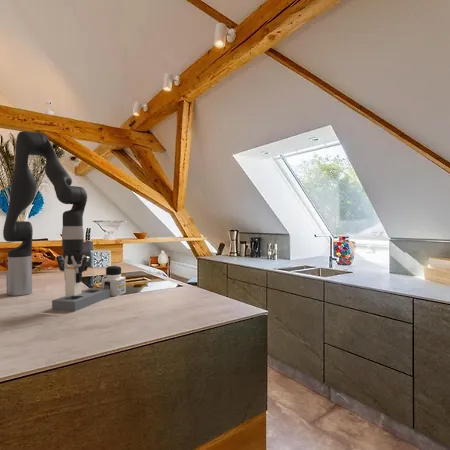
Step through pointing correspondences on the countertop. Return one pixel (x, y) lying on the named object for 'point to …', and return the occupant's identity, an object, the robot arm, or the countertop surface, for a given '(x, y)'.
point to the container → (114, 281)
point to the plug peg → (71, 282)
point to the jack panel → (80, 299)
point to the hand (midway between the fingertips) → (73, 282)
